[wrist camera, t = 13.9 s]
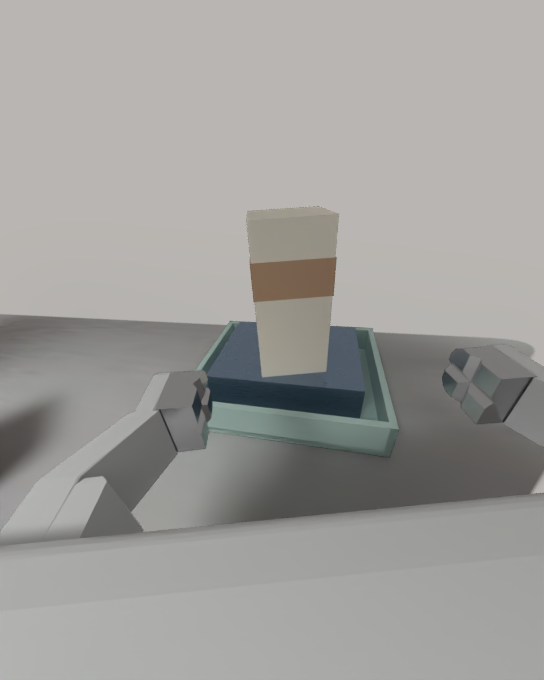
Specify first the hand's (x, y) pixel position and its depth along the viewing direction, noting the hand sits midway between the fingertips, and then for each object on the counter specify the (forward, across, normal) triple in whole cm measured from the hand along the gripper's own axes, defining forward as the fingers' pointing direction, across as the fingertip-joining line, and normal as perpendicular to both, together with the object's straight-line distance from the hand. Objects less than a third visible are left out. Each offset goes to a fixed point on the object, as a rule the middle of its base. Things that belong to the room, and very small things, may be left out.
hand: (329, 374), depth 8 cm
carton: (+11, 0, +7) cm, 13 cm away
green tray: (+12, 0, +11) cm, 16 cm away
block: (+12, 0, +11) cm, 16 cm away
